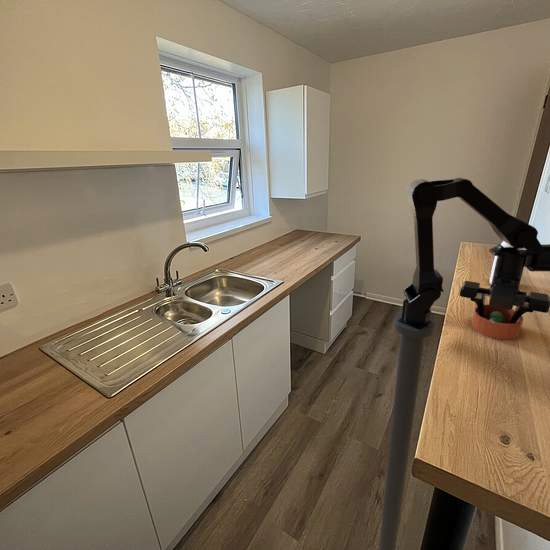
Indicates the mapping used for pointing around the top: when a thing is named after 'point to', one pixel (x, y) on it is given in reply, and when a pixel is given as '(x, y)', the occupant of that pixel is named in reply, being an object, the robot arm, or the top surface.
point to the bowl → (493, 327)
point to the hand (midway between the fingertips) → (495, 323)
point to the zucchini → (497, 317)
